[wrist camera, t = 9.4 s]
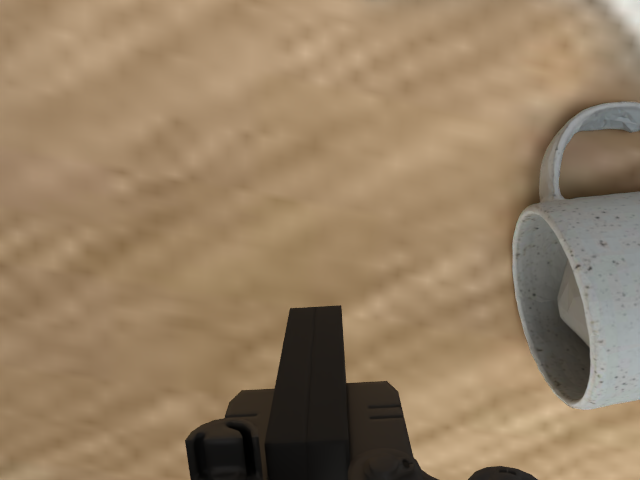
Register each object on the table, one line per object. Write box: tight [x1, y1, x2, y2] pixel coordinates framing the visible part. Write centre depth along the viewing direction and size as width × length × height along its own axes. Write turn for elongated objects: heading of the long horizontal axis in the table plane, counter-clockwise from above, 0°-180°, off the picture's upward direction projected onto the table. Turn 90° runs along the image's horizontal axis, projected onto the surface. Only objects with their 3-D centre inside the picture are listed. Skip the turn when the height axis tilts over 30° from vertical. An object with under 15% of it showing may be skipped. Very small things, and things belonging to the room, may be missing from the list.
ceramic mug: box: [512, 102, 640, 410], centre depth 20 cm, size 11×8×8 cm
